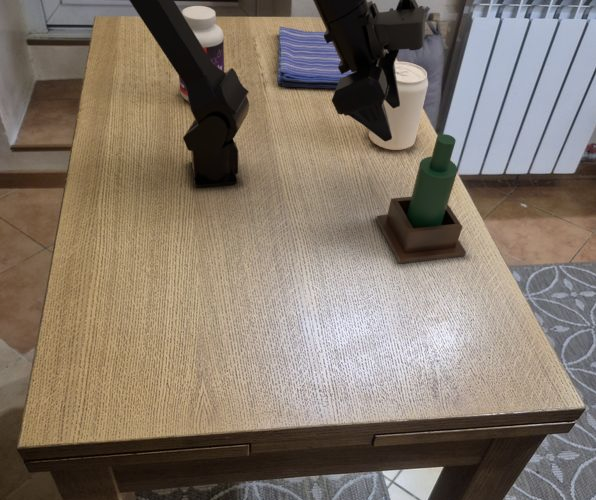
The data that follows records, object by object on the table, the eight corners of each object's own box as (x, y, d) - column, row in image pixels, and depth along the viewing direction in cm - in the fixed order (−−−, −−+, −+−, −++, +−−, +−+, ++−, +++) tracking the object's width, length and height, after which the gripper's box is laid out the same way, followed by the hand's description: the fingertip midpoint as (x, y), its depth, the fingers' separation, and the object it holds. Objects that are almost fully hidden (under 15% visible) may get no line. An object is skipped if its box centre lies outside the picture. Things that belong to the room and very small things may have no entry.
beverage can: (389, 157, 103) (403, 88, 94) (358, 135, 107) (369, 66, 98) (423, 144, 107) (440, 76, 98) (393, 123, 111) (406, 56, 102)
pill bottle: (187, 109, 109) (180, 24, 98) (175, 88, 114) (168, 4, 103) (230, 104, 111) (229, 20, 100) (217, 83, 116) (215, 1, 105)
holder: (399, 263, 86) (405, 238, 82) (376, 219, 92) (381, 194, 88) (464, 256, 88) (473, 230, 84) (437, 213, 94) (444, 188, 90)
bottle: (410, 246, 87) (435, 151, 76) (398, 224, 90) (420, 130, 79) (442, 242, 88) (472, 148, 77) (429, 220, 91) (456, 127, 80)
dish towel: (277, 88, 116) (277, 73, 114) (277, 35, 132) (277, 21, 130) (367, 93, 117) (369, 78, 115) (356, 40, 133) (358, 26, 131)
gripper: (397, 8, 65) (446, 136, 74) (414, -47, 77) (454, 69, 86) (306, 52, 70) (361, 166, 79) (335, -6, 82) (381, 99, 91)
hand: (392, 122), depth 84 cm, fingers open, 9 cm apart
